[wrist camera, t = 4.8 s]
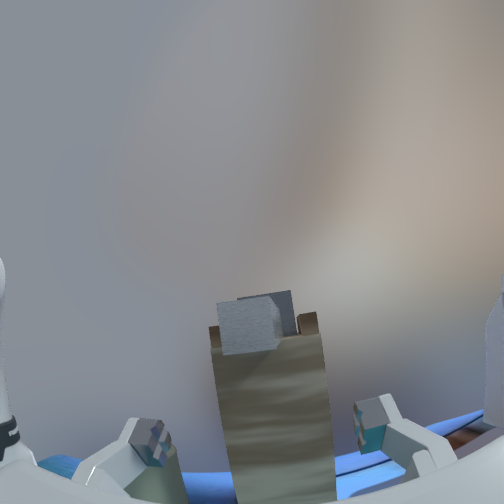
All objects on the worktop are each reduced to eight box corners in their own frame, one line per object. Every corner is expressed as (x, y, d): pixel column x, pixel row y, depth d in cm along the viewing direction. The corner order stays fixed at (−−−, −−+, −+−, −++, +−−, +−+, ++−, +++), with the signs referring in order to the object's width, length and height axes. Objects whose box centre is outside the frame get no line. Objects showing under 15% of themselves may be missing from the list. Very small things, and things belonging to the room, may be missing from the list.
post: (337, 536, 18) (317, 311, 25) (247, 544, 19) (207, 327, 26) (328, 489, 29) (308, 315, 36) (259, 496, 30) (233, 326, 37)
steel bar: (303, 344, 15) (290, 256, 16) (197, 357, 16) (188, 272, 17) (296, 333, 36) (290, 295, 37) (250, 339, 37) (245, 302, 38)
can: (148, 539, 18) (120, 466, 22) (120, 509, 25) (98, 443, 28) (207, 518, 25) (189, 449, 28) (172, 495, 31) (156, 432, 34)
